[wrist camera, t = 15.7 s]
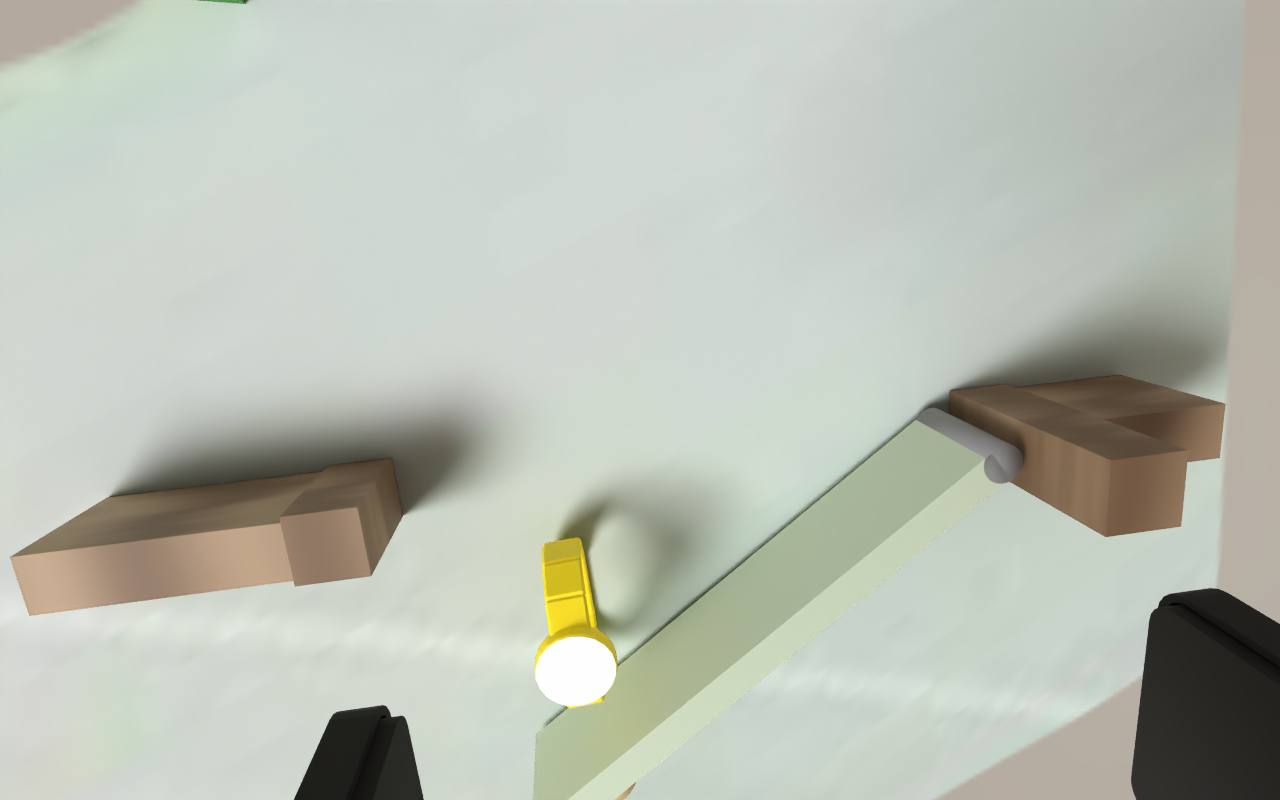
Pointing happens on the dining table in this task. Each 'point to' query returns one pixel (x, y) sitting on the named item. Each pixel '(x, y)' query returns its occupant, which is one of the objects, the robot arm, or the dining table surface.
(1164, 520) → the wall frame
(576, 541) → the watch
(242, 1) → the hardback book
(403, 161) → the dining table surface
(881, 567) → the pale green flat bar
